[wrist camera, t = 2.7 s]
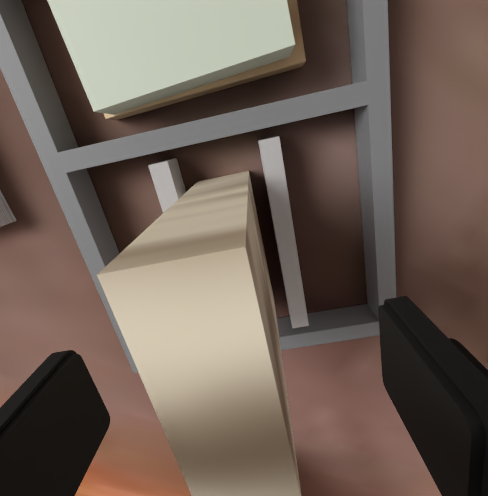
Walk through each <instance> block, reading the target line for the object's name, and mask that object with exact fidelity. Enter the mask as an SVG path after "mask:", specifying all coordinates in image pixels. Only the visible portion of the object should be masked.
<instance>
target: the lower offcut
mask: <svg viewBox="0 0 488 496" xmlns="http://www.w3.org/2000/svg"><path fill="white" fill-rule="evenodd" d="M287 3H288V9H289V14H290V19H291V24H292V30H293V35H294V40H295V46H294V48H293V50H292V53H291V55H290V57H288V58H285V59H282V60H279V61H276V62H273V63H270V64H267V65H264V66H261V67H258V68H255V69H252V70H249V71H246V72H243V73H240V74H237V75H234V76H231V77H228V78H225V79H221V80H218V81H215V82H212V83H209V84H206V85H203V86H200V87H197V88H194V89H191V90H188V91H185V92H182V93H179V94H176V95H173V96H170V97H167V98H164V99H161V100H158V101H155V102H151V103H148V104H145V105H142V106H139V107H136V108H133V109H130V110H127V111H124V112H121V113H118V114H115V115H112V114H106V113H104V116H105V118H106V119H112V120H119V119H122V118H126V117H129V116H133V115H136V114H140V113H143V112H147V111H150V110H154V109H157V108H161V107H164V106H168V105H171V104H175V103H178V102H182V101H185V100H189V99H192V98H196V97H199V96H203V95H206V94H210V93H213V92H216V91H220V90H223V89H227V88H230V87H234V86H237V85H241V84H244V83H248V82H251V81H255V80H258V79H262V78H265V77H269V76H272V75H276V74H279V73H283V72H286V71H290V70H293V69H297V68H300V67H302V66H303V64H304V63H305V62H306V57H305V51H304V44H303V38H302V31H301V24H300V18H299V11H298V5H297V0H287Z"/></svg>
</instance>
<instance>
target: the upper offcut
mask: <svg viewBox="0 0 488 496" xmlns="http://www.w3.org/2000/svg"><path fill="white" fill-rule="evenodd" d="M47 1H48V3H49V6H50V8H51V10H52V13H53V15H54V18H55V20H56V22H57V25H58V27H59V30H60V32H61V34H62V37H63V39H64V42H65V44H66V46H67V49H68V51H69V54H70V56H71V58H72V61H73V63H74V66H75V68H76V70H77V73H78V75H79V78H80V80H81V82H82V85H83V87H84V90H85V92H86V94H87V97H88V99H89V102H90V104H91V106H92V109H93V111H94V112H99V113H106V114H112V115H115V114H118V113H121V112H124V111H127V110H130V109H133V108H136V107H139V106H142V105H145V104H148V103H151V102H155V101H158V100H161V99H164V98H167V97H170V96H173V95H176V94H179V93H182V92H185V91H188V90H191V89H194V88H197V87H200V86H203V85H206V84H209V83H212V82H215V81H218V80H221V79H225V78H228V77H231V76H234V75H237V74H240V73H243V72H246V71H249V70H252V69H255V68H258V67H261V66H264V65H267V64H270V63H273V62H276V61H279V60H282V59H285V58H288V57H290V55H291V53H292V50H293V48H294V46H295V40H294V35H293V30H292V24H291V19H290V14H289V9H288V3H287V0H47Z"/></svg>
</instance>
